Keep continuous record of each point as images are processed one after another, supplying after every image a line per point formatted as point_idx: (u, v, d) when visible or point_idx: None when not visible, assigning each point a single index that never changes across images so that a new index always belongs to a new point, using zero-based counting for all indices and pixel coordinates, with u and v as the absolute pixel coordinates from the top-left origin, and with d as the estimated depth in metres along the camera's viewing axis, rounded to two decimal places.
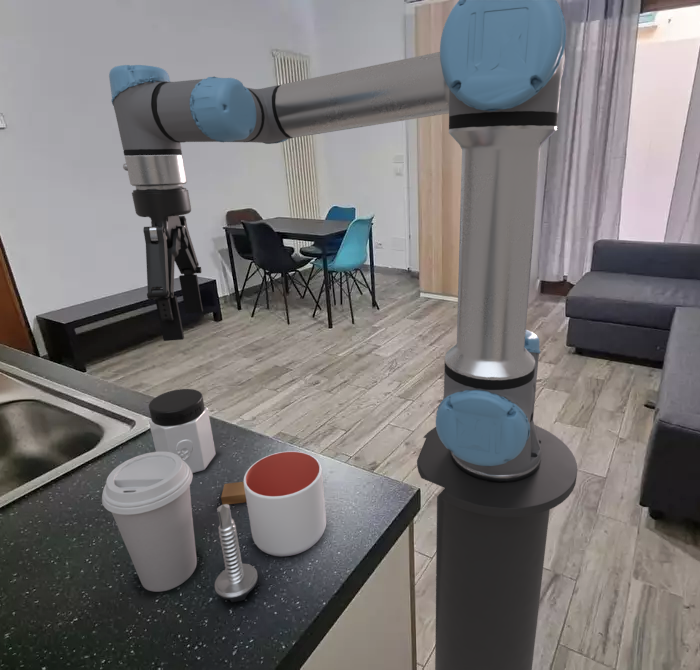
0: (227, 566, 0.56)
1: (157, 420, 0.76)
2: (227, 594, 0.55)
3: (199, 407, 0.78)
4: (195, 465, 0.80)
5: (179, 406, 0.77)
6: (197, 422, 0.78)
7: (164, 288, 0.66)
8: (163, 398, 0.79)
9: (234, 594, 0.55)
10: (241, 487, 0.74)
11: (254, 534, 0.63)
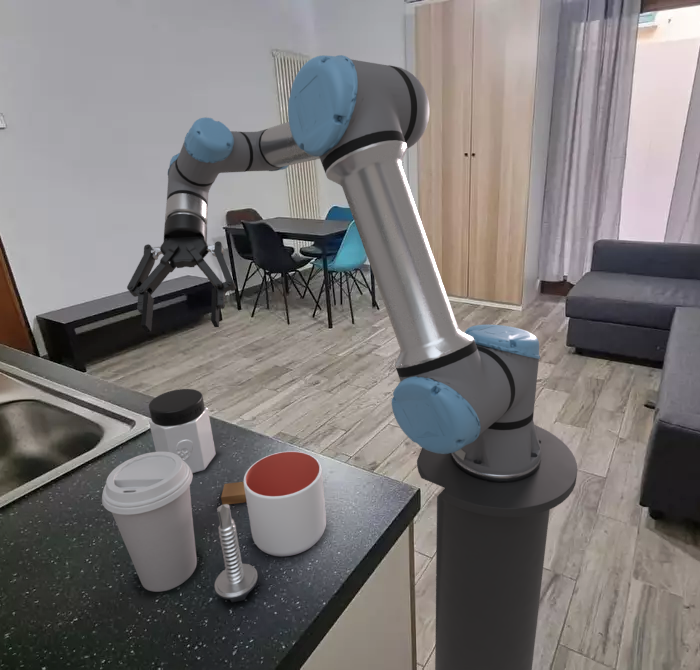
0: (227, 566, 0.56)
1: (157, 420, 0.76)
2: (227, 594, 0.55)
3: (199, 407, 0.78)
4: (195, 465, 0.80)
5: (179, 406, 0.77)
6: (197, 422, 0.78)
7: None
8: (163, 398, 0.79)
9: (234, 594, 0.55)
10: (241, 487, 0.74)
11: (254, 534, 0.63)
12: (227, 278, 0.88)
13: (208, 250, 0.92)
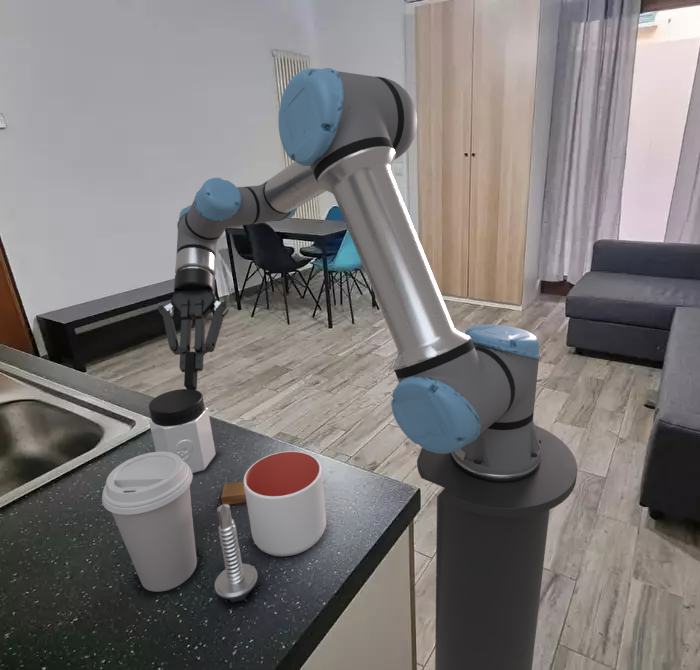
0: (227, 566, 0.56)
1: (157, 420, 0.76)
2: (227, 594, 0.55)
3: (199, 407, 0.78)
4: (195, 465, 0.80)
5: (179, 406, 0.77)
6: (197, 422, 0.78)
7: (169, 346, 0.90)
8: (163, 398, 0.79)
9: (234, 594, 0.55)
10: (241, 487, 0.74)
11: (254, 534, 0.63)
12: (207, 340, 0.91)
13: (214, 305, 0.95)
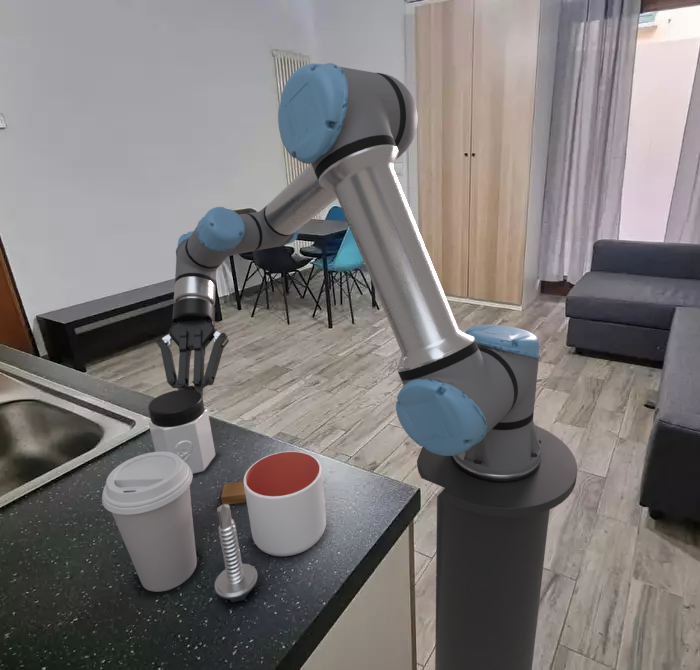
0: (227, 566, 0.56)
1: (156, 421, 0.76)
2: (227, 594, 0.55)
3: (199, 408, 0.78)
4: (194, 466, 0.79)
5: (178, 407, 0.76)
6: (197, 422, 0.78)
7: (167, 380, 0.87)
8: (163, 399, 0.79)
9: (234, 594, 0.55)
10: (241, 487, 0.74)
11: (254, 534, 0.63)
12: (207, 373, 0.88)
13: (213, 335, 0.93)
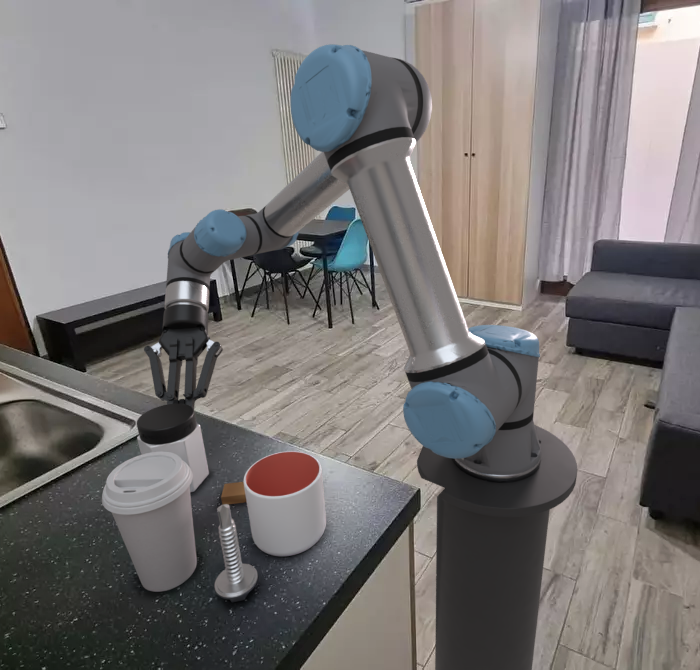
0: (227, 566, 0.56)
1: (144, 438, 0.71)
2: (227, 594, 0.55)
3: (189, 425, 0.73)
4: None
5: (167, 423, 0.72)
6: (187, 440, 0.73)
7: (155, 392, 0.81)
8: (153, 413, 0.75)
9: (234, 594, 0.55)
10: (241, 487, 0.74)
11: (254, 534, 0.63)
12: (199, 386, 0.83)
13: (206, 344, 0.87)
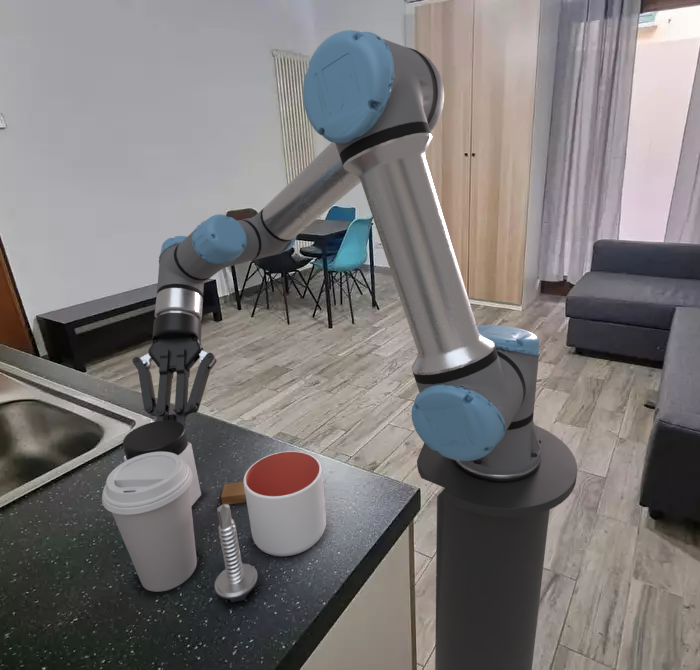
0: (227, 566, 0.56)
1: (130, 458, 0.66)
2: (227, 594, 0.55)
3: (179, 444, 0.68)
4: None
5: (155, 443, 0.67)
6: None
7: (144, 407, 0.76)
8: (141, 431, 0.70)
9: (234, 594, 0.55)
10: (241, 487, 0.74)
11: (254, 534, 0.63)
12: (190, 400, 0.77)
13: (199, 355, 0.82)
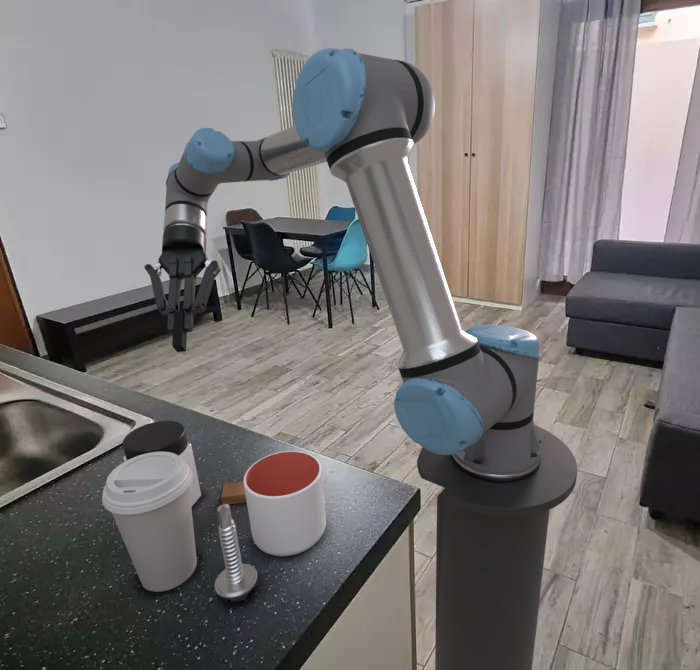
0: (227, 566, 0.56)
1: None
2: (227, 594, 0.55)
3: (179, 445, 0.68)
4: None
5: (155, 444, 0.67)
6: None
7: None
8: (141, 432, 0.70)
9: (234, 594, 0.55)
10: (241, 487, 0.74)
11: (254, 534, 0.63)
12: (197, 299, 0.85)
13: (204, 264, 0.90)
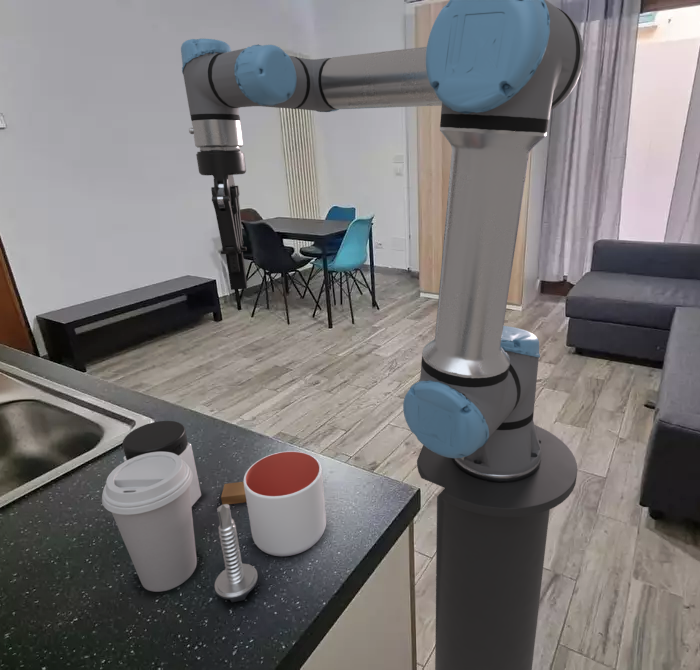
0: (227, 566, 0.56)
1: None
2: (227, 594, 0.55)
3: (179, 445, 0.68)
4: None
5: (155, 444, 0.67)
6: None
7: (235, 247, 0.82)
8: (141, 432, 0.70)
9: (234, 594, 0.55)
10: (241, 487, 0.74)
11: (254, 534, 0.63)
12: (241, 237, 0.88)
13: None
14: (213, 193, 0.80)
